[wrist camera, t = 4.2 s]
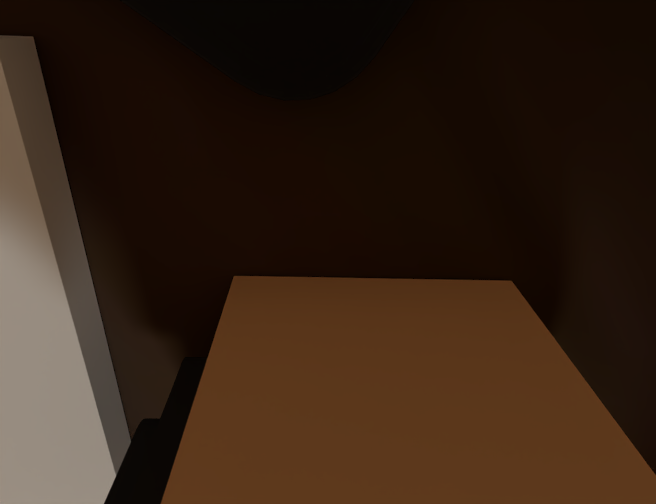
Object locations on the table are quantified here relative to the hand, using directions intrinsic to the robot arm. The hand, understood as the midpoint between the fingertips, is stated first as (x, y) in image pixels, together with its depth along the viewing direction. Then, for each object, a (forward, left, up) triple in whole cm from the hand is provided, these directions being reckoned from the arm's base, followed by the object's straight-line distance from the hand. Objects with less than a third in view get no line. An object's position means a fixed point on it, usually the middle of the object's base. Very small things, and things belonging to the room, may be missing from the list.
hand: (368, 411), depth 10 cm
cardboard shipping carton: (0, 0, -1) cm, 1 cm away
